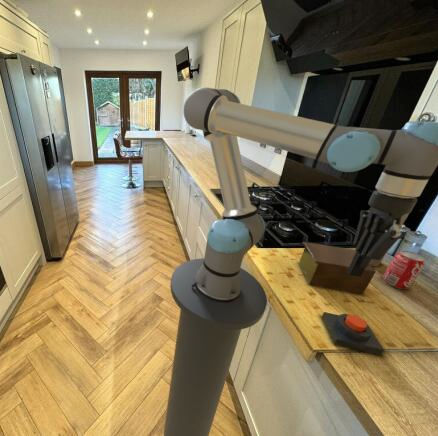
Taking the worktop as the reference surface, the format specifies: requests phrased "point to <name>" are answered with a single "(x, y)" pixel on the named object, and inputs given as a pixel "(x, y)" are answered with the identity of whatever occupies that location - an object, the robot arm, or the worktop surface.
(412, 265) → the soda can
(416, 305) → the worktop surface
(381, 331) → the worktop surface
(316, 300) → the worktop surface
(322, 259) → the lid
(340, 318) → the button base
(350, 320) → the button
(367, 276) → the box
